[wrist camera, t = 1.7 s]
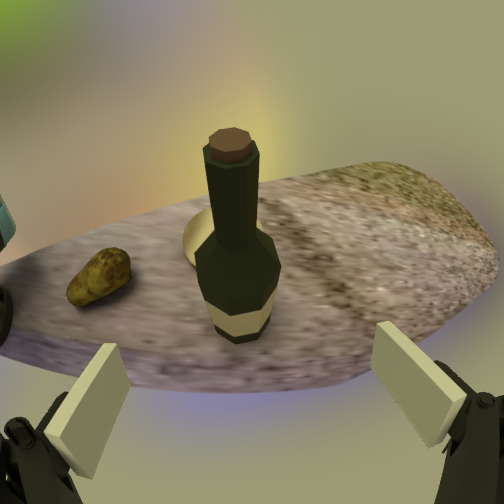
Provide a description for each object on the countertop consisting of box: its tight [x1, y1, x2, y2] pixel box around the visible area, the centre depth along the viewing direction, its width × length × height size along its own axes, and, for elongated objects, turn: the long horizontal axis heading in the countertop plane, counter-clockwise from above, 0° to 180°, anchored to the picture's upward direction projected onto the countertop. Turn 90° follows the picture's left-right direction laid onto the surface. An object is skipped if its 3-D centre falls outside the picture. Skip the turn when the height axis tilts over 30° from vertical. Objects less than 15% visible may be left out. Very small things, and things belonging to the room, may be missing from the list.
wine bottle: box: [194, 128, 281, 344], centre depth 27 cm, size 8×8×30 cm
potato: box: [66, 247, 132, 306], centre depth 39 cm, size 8×13×8 cm, turn 97°
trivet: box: [183, 207, 264, 267], centre depth 45 cm, size 13×13×3 cm
